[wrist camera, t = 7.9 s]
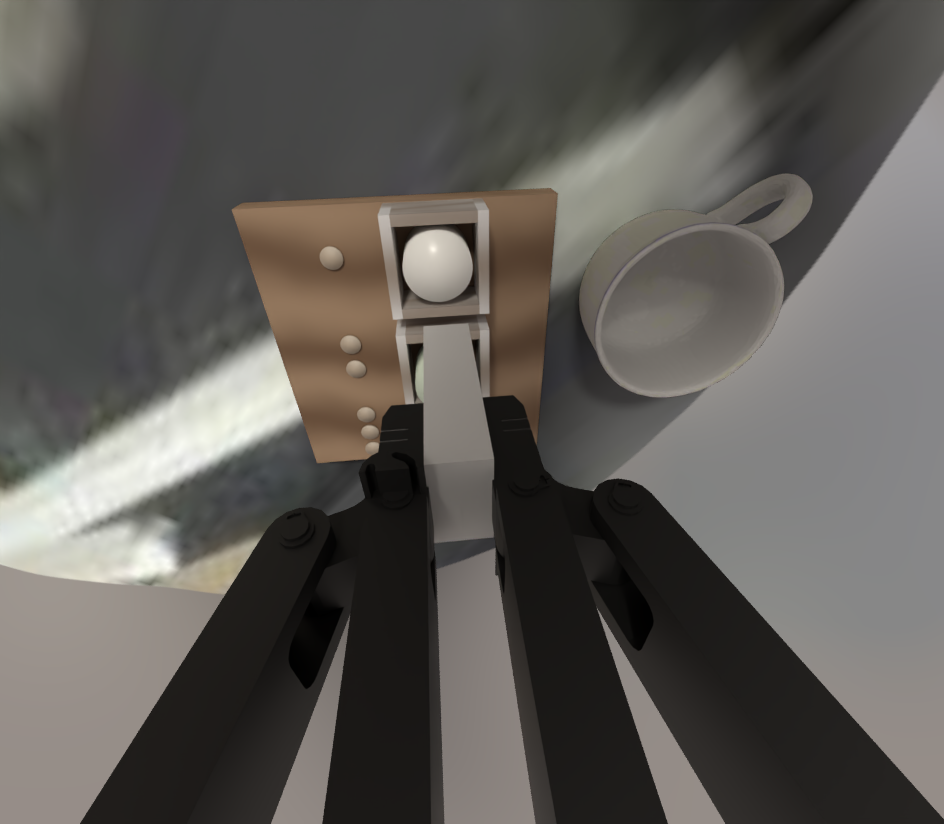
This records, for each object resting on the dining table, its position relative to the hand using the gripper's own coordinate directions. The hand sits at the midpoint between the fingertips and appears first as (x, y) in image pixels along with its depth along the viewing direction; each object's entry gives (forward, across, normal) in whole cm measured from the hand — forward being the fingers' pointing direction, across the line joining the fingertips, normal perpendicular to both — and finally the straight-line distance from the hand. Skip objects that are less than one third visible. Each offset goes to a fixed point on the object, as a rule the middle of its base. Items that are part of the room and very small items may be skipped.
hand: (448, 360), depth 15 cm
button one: (+15, 0, -1) cm, 15 cm away
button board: (+16, -2, -8) cm, 18 cm away
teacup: (+17, +15, -3) cm, 23 cm away
